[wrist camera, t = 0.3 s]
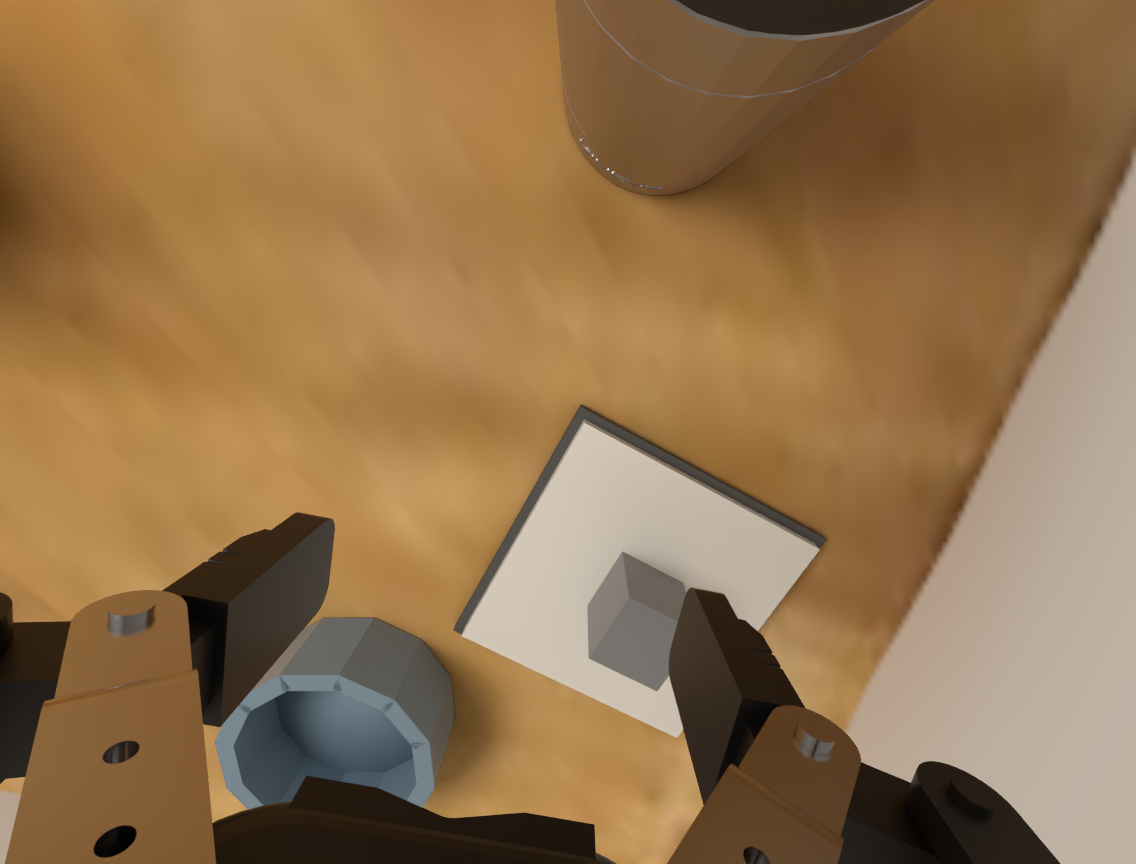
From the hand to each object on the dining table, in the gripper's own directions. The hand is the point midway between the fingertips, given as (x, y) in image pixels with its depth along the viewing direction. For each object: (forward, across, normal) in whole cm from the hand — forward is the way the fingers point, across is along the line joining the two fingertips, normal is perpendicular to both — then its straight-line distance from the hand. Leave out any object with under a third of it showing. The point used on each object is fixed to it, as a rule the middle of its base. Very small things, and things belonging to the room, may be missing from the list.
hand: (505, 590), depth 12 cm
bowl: (+19, +8, +20) cm, 29 cm away
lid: (+18, -7, +8) cm, 21 cm away
